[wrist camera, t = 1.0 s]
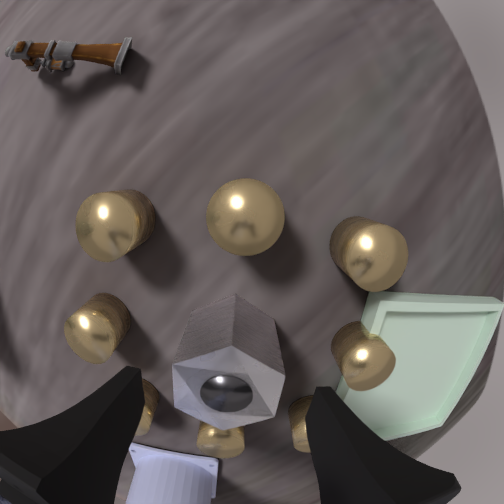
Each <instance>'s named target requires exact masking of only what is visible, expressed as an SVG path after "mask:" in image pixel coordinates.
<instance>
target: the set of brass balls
mask: <svg viewBox="0 0 504 504" xmlns="http://www.w3.org/2000/svg"><path fill="white" fill-rule="evenodd" d="M284 220H285V215H284V208H283V205H282V202H281V200H280V198H279V196H278V195H277V193H276V192H275V191H274V190H273V189H272V188H271V187H269V186H268V185H266V184H265V183H263V182H261V181H258V180H254V179H246V178H244V179H237V180H233V181H230V182H228V183H226V184H225V185H223V186H222V187H220V188H219V189H218V190H217V191H216V192H215V194H214V195H213V196H212V198H211V200H210V202H209V205H208V208H207V213H206V221H207V227H208V230H209V233H210V235H211V236H212V238H213V239H214V241H215V242H216V243H217V244H218V245H219V246H220V247H221V248H222V249H224V250H226V251H227V252H230V253H232V254H235V255H240V256H251V255H256V254H259V253H261V252H263V251H265V250H267V249H268V248H270V247H271V246H272V245H273V244H274V243H275V242H276V241H277V239H278V238H279V236H280V234H281V232H282V230H283V226H284ZM154 226H155V212H154V208H153V206H152V204H151V202H150V200H149V199H148V198H147V197H146V196H145V195H144V194H142V193H141V192H139V191H136V190H119V191H110V192H102V193H96V194H94V195H92V196H90V197H88V198H87V199H86V200H85V201H84V202H83V203H82V205H81V206H80V208H79V211H78V213H77V217H76V233H77V237H78V240H79V243H80V245H81V246H82V248H83V249H84V251H85V252H86V253H87V254H88V255H89V256H91V257H92V258H94V259H96V260H98V261H102V262H111V261H115V260H117V259H119V258H120V257H122V256H123V255H125V254H126V253H128V252H129V251H131V250H133V249H134V248H136V247H137V246H139V245H140V244H142V243H143V242H145V241H146V240H147V239H148V238H149V237H150V235H151V234H152V232H153V229H154ZM330 254H331V257H332V259H333V261H334V262H335V263H336V264H337V265H338V266H339V267H340V268H341V269H342V270H343V271H344V272H345V273H346V274H347V275H348V276H349V277H350V278H351V279H352V280H353V281H354V282H355V283H356V284H357V285H358V286H359V287H361V288H362V289H364V290H366V291H370V292H379V291H383V290H386V289H388V288H390V287H391V286H392V285H394V284H395V283H396V282H397V281H398V280H399V279H400V277H401V276H402V274H403V272H404V270H405V268H406V265H407V260H408V248H407V244H406V241H405V239H404V237H403V236H402V235H401V233H400V232H399V231H397V230H396V229H394V228H392V227H390V226H387V225H384V224H381V223H378V222H376V221H373V220H370V219H367V218H364V217H359V216H354V217H350V218H347V219H345V220H343V221H342V222H341V223H340V224H338V226H337V227H336V228H335V229H334V231H333V233H332V236H331V239H330ZM130 324H131V319H130V315H129V312H128V310H127V308H126V306H125V305H124V304H123V303H122V302H121V301H120V300H119V299H118V298H117V297H115V296H113V295H111V294H108V293H99V294H96V295H95V296H93V297H92V298H91V299H90V300H89V301H88V302H86V303H85V304H84V305H83V306H82V307H81V308H80V309H78V310H77V311H76V312H75V313H74V314H73V315H72V316H70V317H69V318H68V319H67V321H66V323H65V326H64V332H65V337H66V340H67V342H68V344H69V346H70V347H71V348H72V350H73V351H74V352H75V353H76V354H77V355H78V356H79V357H80V358H82V359H83V360H85V361H87V362H90V363H93V364H102V363H104V362H106V361H107V360H108V359H109V358H110V356H111V355H112V353H113V352H114V350H115V349H116V347H117V346H118V345H119V343H120V342H121V340H122V339H123V337H124V336H125V335H126V333H127V332H128V330H129V328H130ZM331 351H332V354H333V356H334V358H335V360H336V362H337V364H338V366H339V368H340V371H341V373H342V375H343V377H344V379H345V381H346V383H347V385H348V387H349V388H351V389H352V390H355V391H367V390H370V389H373V388H375V387H377V386H379V385H380V384H382V383H383V382H384V381H385V380H386V379H387V378H388V377H389V376H390V375H391V373H392V372H393V370H394V367H395V364H396V357H395V354H394V353H393V351H392V350H391V349H390V348H389V346H388V345H387V344H386V343H385V341H384V340H383V339H382V338H381V336H380V335H376V334H371V333H369V331H368V330H367V329H366V327H365V326H364V325H363V324H362V322H361V321H355V322H351V323H349V324H347V325H345V326H344V327H342V328H341V329H340V330H339V331H338V332H337V333H336V334H335V336H334V338H333V340H332V343H331ZM142 383H143V390H144V397H145V406H144V409H143V413H142V417H141V420H140V423H139V426H138V428H137V431H136V433H135V435H137V436H140V435H145V434H146V433H147V432H148V431H149V428H150V425H151V422H152V419H153V416H154V413H155V410H156V407H157V404H158V401H159V393H158V391H157V390H156V388H155V387H154V386H153V385H152V384H151V383H149V382H148V381H146V380H144V379H142ZM312 398H313V395H311V396H306V397H303V398H300V399H298V400H297V401H295V402H294V403H293V404H292V405H291V406H290V408H289V410H288V415H289V421H290V427H291V432H292V438H293V444H294V447H295V448H296V449H297V450H299V451H301V452H311V451H310V447H309V443H308V439H307V433H306V423H305V417H306V414H307V411H308V409H309V406H310V404H311V401H312ZM197 447H198V449H199V450H200V451H201V452H203V453H204V454H206V455H209V456H212V457H216V458H231V457H235V456H238V455H239V454H241V453H242V452H243V451H244V425H243V426H239V427H235V428H231V429H226V430H221V429H219V428H216V427H214V426H212V425H210V424H208V423H205V422H203V421H201V420H200V425H199V432H198V438H197Z"/></svg>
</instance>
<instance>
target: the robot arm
mask: <svg viewBox="0 0 504 504" xmlns="http://www.w3.org/2000/svg"><path fill="white" fill-rule="evenodd" d="M144 406H145V397H144V390H143V383H142V376H141V369H139V368H135V367H130V366H126V367H125V368H123V369H122V370H121V371H120V372H119V373H117V374H116V375H115V376H114V377H113V378H111V379H110V380H109V381H108V382H106V383H105V384H104V385H103V386H101V387H100V388H99V389H97V390H96V391H95V392H93V393H92V394H91V395H89V396H88V397H86V398H85V399H83V400H82V401H80V402H79V403H77V404H76V405H74V406H73V407H71V408H69V409H67V410H66V411H64V412H62V413H60V414H58V415H56V416H53V417H51V418H49V419H46V420H44V421H41V422H39V423H36V424H33V425H29V426H26V427H22V428H18V429H13V430H6V431H0V478H1V479H2V480H1V481H0V504H114V500H115V495H116V490H117V485H118V481H119V476H120V472H121V468H122V465H123V462H124V459H125V457H126V455H127V452H128V450H129V451H130V454H131V457H132V459H133V462H134V464H135V467H136V470H135V473H134V477H133V480H132V483H131V487H130V490H129V493H128V497H127V500H126V504H211V498H215V496H216V484H217V473H218V459H216V458H212V457H203V456H196V455H189V454H183V453H177V452H172V451H167V450H162V449H157V448H152V447H148V446H144V445H140V444H136V443H132V440H133V438H134V435H135V433H136V431H137V428H138V426H139V423H140V420H141V417H142V413H143V409H144ZM305 423H306V433H307V439H308V443H309V447H310V451H311V455H312V459H313V463H314V467H315V470H316V474H317V478H318V483H319V490H320V498H321V504H447V503H448V502H449V501H450V500H452V499H453V498H454V497H455V496H456V495H457V494H458V493H459V492H460V490H461V486H460V484H459V483H458V481H457V479H456V477H455V476H454V474H453V473H449V472H446V471H442V470H439V469H436V468H433V467H430V466H428V465H426V464H423V463H421V462H419V461H417V460H415V459H413V458H411V457H409V456H407V455H406V454H404V453H402V452H400V451H399V450H397V449H396V448H394V447H393V446H391V445H390V444H389V443H387V442H386V441H384V440H383V439H382V438H380V437H379V436H378V435H377V434H376V433H374V432H373V431H372V430H371V429H370V428H369V427H368V426H367V425H366V424H365V423H363V422H362V421H361V420H360V419H359V418H358V417H357V416H356V415H355V413H354V412H353V411H352V410H351V409H350V408H349V407H348V406H347V405H346V404H345V403H344V402H343V400H342V399H341V398H340V397H339V396H338V395H337V394H336V392H335V391H334V390H333V389H332V388H331V387H316V390H315V393H314V395H313V398H312V401H311V404H310V406H309V409H308V411H307V414H306V417H305Z"/></svg>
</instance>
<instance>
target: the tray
mask: <svg viewBox="0 0 504 504" xmlns="http://www.w3.org/2000/svg"><path fill="white" fill-rule="evenodd" d="M503 307H504V303H503V302H501V301H499V300H498V299H496V298H494V297H482V296H458V295H438V294H420V293H404V292H389V291H379V292H370V291H369V293H368V297H367V300H366V304H365V308H364V311H363V314H362V318H361V322H362V324H363V325H364V326H365V327H366V329H367V330H368V331H369V333H371V334H376V335H380V336H381V338H382V339H383V340H384V341H385V343H386V344H387V345H388V346H389V348H390V349H391V350H392V351H393V353H394V354H395V357H396V364H395V367H394V370H393V372H392V373H391V375H390V376H389V377H388V378H387V379H386V380H385V381H384V382H383V383H382V384H380V385H379V386H377V387H375V388H373V389H370V390H367V391H355V390H352V389H351V388H349V387H348V385H347V383H346V381H345V379H344V377H343V375H342V377H341V379H340V382H339V385H338V387H337V390H336V394H337V395H338V396H339V397H340V398H341V399H342V400H343V402H344V403H345V404H346V405H347V406H348V407H349V408H350V409H351V410H352V411H353V412H354V413H355V415H356V416H357V417H358V418H359V419H360V420H361V421H362V422H363V423H365V424H366V425H367V426H368V427H369V428H370V429H371V430H372V431H373V432H374V433H376V434H377V435H378V436H379V437H380V438H382V439H383V440H384V441H387V440H391V439H396V438H400V437H404V436H408V435H412V434H416V433H420V432H423V431H427V430H430V429H433V428H437V427H440V426H442V425H443V423H444V422H445V420H446V419H447V418H448V416H449V415H450V413H451V412H452V410H453V409H454V407H455V405H456V404H457V402H458V401H459V399H460V397H461V396H462V394H463V392H464V391H465V389H466V387H467V386H468V384H469V382H470V380H471V379H472V377H473V375H474V373H475V371H476V369H477V367H478V365H479V363H480V361H481V359H482V357H483V355H484V353H485V351H486V349H487V347H488V344H489V342H490V340H491V338H492V335H493V333H494V331H495V328H496V326H497V323H498V321H499V318H500V315H501V313H502V310H503Z"/></svg>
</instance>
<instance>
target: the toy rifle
mask: <svg viewBox="0 0 504 504" xmlns="http://www.w3.org/2000/svg"><path fill="white" fill-rule="evenodd" d="M131 47H132V37H131V38H126V37H125V39H124V41H123V43H117V44H92V45H83V44H77V42H63V41H58V43H56V42H55V40H54V41H51V40H50V43H33V41H32V40H30V41H14V43H13V45H11V46H9V47H8V48H7V49H6V50H5V55H6V56H7V57H10V58H11V59H12V60H15V59H21V60H22V61H23V62H24V63H25V64H26V67H27V68H28V69H30V70H31V71H38V70H39V67H40V65H41V64H42V66H43V67H44V68H45V66H46V68H47V69H48V71H49V72H52V70H61V71H64V69H65V68H70V67H71V66H72V65H73V61H74V60H85V61H90V62H95V63H100V64H104V65H108V66H111V67H114V69H115V74H120V75H121V67H122V64H123V61H124V59H125V56H126V54H127V51H128V49H131ZM39 58H44V60H43V61H42V60H40V59H39Z"/></svg>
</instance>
